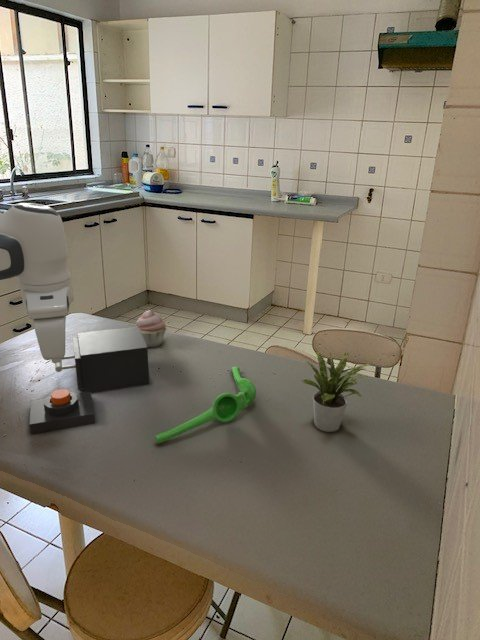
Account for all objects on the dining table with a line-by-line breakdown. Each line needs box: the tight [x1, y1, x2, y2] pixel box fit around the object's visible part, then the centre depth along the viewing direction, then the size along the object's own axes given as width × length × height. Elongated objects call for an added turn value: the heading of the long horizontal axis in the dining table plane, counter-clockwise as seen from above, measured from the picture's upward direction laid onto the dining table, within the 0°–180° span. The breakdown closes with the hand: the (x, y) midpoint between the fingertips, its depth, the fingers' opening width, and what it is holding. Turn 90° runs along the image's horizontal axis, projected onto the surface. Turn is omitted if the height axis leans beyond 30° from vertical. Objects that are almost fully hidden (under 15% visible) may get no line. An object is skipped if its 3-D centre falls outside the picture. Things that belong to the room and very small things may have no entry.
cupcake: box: [133, 309, 168, 348], centre depth 128 cm, size 9×9×10 cm
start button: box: [50, 388, 71, 405], centre depth 94 cm, size 4×4×2 cm
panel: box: [28, 391, 96, 435], centre depth 95 cm, size 12×9×4 cm
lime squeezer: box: [154, 366, 257, 444], centre depth 99 cm, size 34×12×6 cm, turn 154°
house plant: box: [300, 349, 372, 433], centre depth 92 cm, size 14×14×16 cm
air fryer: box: [76, 326, 150, 394], centre depth 110 cm, size 15×13×10 cm
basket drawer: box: [54, 337, 84, 391], centre depth 109 cm, size 18×11×8 cm, turn 111°
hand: (56, 359), depth 91 cm, fingers closed
